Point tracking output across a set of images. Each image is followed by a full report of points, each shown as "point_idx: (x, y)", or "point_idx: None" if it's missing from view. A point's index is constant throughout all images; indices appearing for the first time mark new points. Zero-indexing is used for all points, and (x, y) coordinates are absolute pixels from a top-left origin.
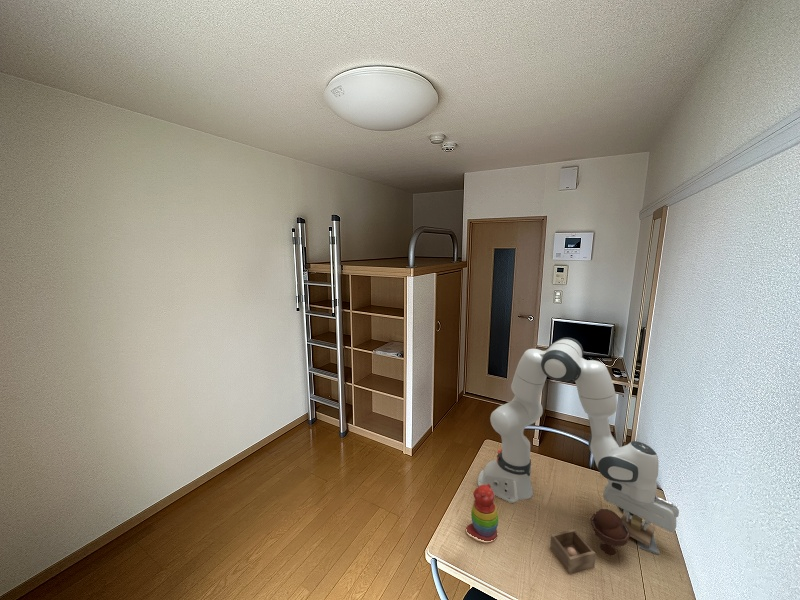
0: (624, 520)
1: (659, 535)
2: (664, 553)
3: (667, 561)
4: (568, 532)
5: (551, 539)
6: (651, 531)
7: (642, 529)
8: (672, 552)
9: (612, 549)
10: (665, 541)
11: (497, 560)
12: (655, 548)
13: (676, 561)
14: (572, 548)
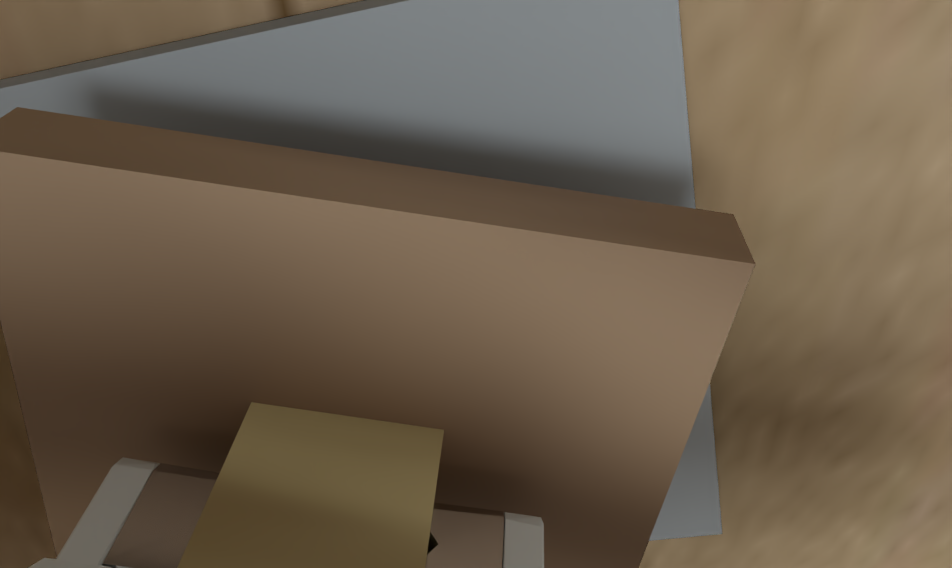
0: (98, 440)
1: (819, 56)
2: (803, 450)
3: (810, 552)
4: None
5: None
6: (646, 443)
7: (466, 489)
8: (948, 369)
9: None
10: (904, 170)
11: None
12: (680, 481)
13: (946, 498)
14: None
